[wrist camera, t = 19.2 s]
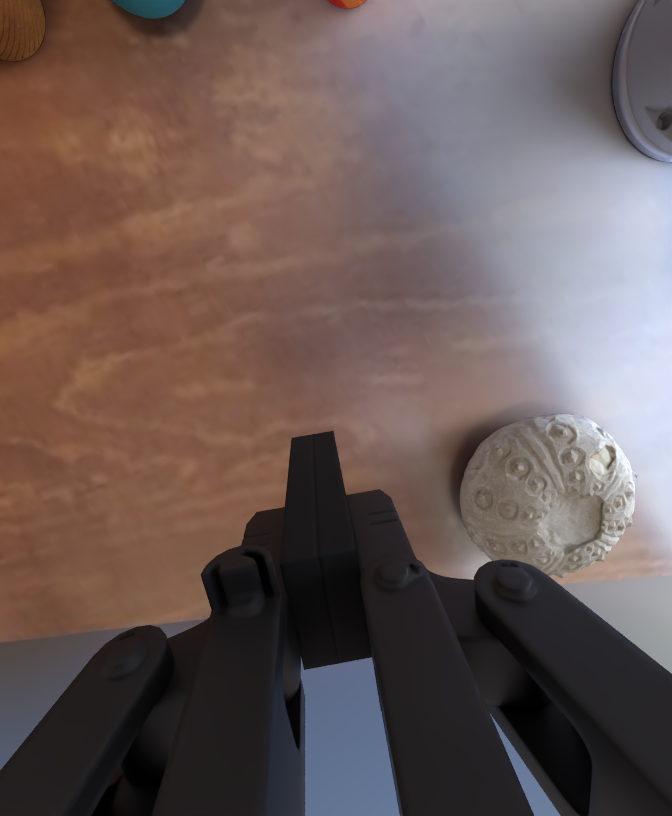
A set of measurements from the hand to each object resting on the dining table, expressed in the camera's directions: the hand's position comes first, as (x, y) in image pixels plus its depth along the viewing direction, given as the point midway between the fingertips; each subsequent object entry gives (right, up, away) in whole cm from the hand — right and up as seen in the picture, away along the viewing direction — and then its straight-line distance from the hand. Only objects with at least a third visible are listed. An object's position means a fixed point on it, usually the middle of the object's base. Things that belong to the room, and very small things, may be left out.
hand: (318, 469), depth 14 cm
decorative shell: (+22, -6, +31) cm, 39 cm away
